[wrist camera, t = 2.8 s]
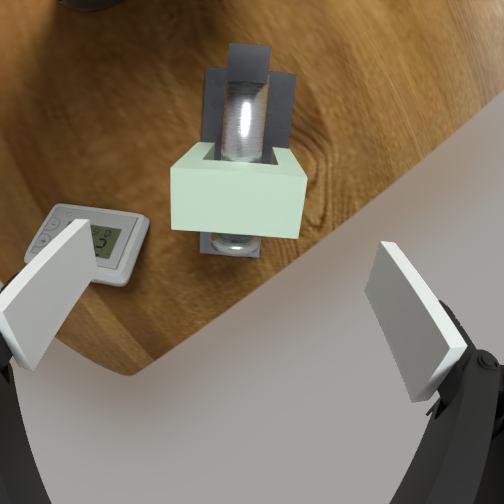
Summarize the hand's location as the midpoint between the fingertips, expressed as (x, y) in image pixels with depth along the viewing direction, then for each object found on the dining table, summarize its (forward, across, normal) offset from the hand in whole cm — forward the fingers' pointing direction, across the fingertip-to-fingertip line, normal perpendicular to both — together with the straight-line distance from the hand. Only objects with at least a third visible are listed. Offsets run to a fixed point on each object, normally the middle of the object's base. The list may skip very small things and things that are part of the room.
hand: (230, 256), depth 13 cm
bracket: (+15, 0, 0) cm, 15 cm away
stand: (+25, 0, +3) cm, 25 cm away
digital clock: (+26, -20, -11) cm, 34 cm away
